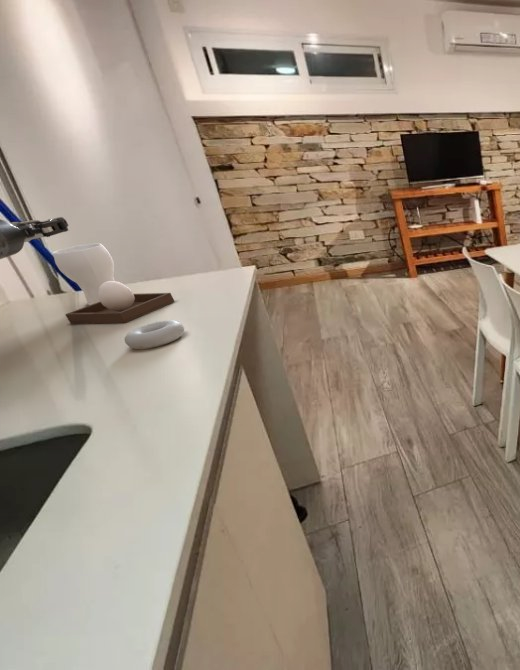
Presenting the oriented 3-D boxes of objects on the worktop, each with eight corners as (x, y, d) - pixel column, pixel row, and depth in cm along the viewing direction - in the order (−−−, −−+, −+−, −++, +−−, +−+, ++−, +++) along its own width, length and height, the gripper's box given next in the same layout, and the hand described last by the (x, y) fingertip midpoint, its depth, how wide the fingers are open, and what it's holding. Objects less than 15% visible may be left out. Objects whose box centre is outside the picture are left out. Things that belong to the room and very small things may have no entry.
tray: (70, 323, 118) (64, 314, 116) (124, 302, 130) (120, 294, 129) (125, 322, 116) (119, 313, 115) (174, 301, 128) (170, 292, 127)
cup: (132, 290, 139) (106, 240, 133) (130, 299, 132) (102, 247, 125) (83, 301, 133) (53, 249, 127) (78, 311, 126) (46, 256, 119)
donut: (140, 356, 98) (195, 335, 105) (131, 341, 96) (188, 321, 104) (122, 347, 103) (175, 328, 110) (113, 333, 101) (168, 314, 109)
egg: (141, 308, 122) (126, 279, 119) (108, 317, 118) (91, 287, 115) (138, 303, 126) (123, 275, 123) (106, 311, 122) (89, 282, 119)
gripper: (15, 216, 88) (70, 202, 102) (-85, 227, 85) (-15, 211, 99) (39, 255, 92) (89, 237, 106) (-57, 267, 88) (8, 246, 102)
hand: (39, 224), depth 102 cm, fingers open, 8 cm apart
